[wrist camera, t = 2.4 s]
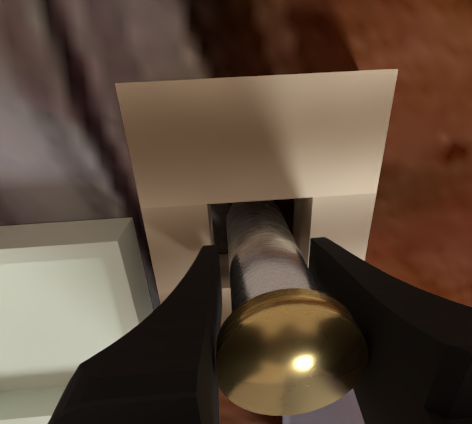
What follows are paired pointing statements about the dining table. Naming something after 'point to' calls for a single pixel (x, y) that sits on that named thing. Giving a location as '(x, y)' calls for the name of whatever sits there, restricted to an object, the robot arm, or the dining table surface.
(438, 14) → the dining table surface
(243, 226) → the pin
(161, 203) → the hitch block
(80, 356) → the tray
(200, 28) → the dining table surface
